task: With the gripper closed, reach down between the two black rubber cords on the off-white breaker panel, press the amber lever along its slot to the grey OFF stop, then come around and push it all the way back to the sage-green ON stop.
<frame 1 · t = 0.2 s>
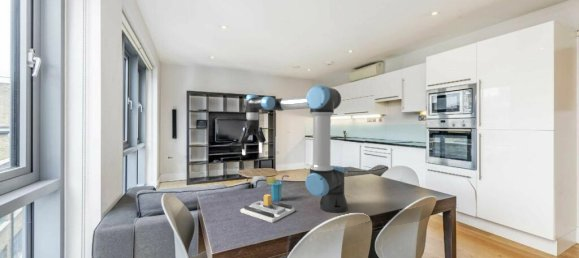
hand: (252, 153, 146), 28 cm above the table, fingers open, 13 cm apart
lever: (267, 201, 123), point 5 cm above the table, slide at 0.0 cm
cup: (278, 200, 142), on the table
panel: (267, 211, 123), on the table
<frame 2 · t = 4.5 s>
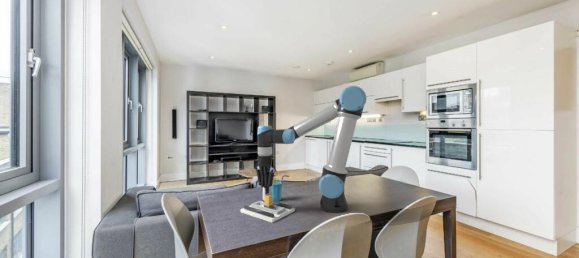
hand: (265, 199, 124), 6 cm above the table, fingers closed
lever: (268, 202, 123), point 5 cm above the table, slide at -0.6 cm, touching gripper
everything else where it was.
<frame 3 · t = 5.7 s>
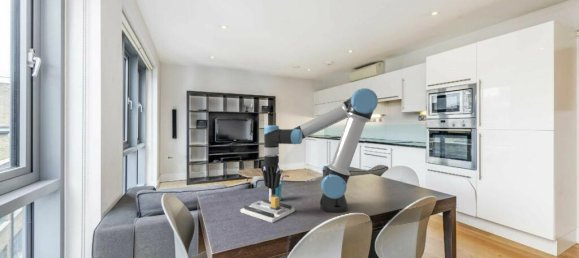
hand: (271, 200, 121), 6 cm above the table, fingers closed
lever: (275, 203, 120), point 5 cm above the table, slide at -5.1 cm, touching gripper
everything else where it was.
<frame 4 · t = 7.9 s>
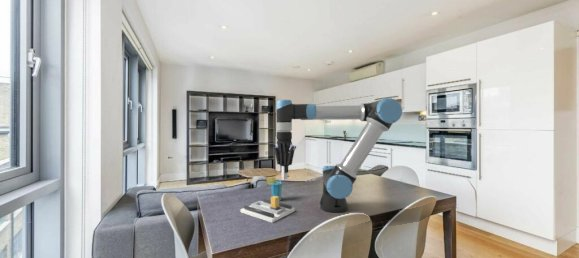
hand: (284, 179, 116), 19 cm above the table, fingers closed
lever: (274, 203, 120), point 5 cm above the table, slide at -5.0 cm
everything else where it was.
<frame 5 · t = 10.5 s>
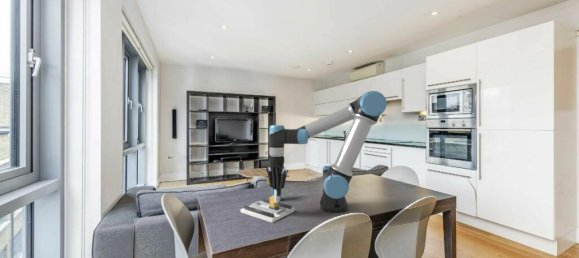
hand: (276, 201, 119), 7 cm above the table, fingers closed
lever: (273, 203, 120), point 5 cm above the table, slide at -4.2 cm, touching gripper
everything else where it was.
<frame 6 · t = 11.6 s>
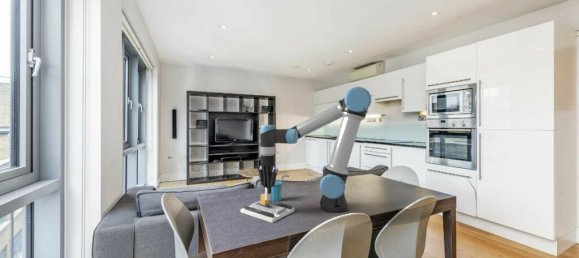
hand: (267, 199, 123), 7 cm above the table, fingers closed
lever: (264, 201, 124), point 5 cm above the table, slide at 2.1 cm, touching gripper
everything else where it was.
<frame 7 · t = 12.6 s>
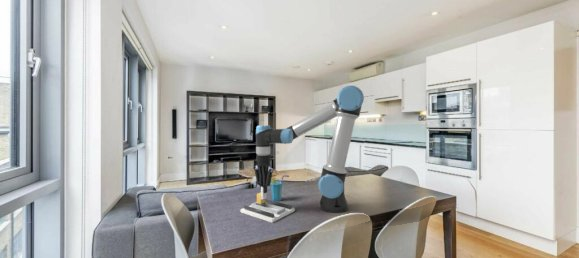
hand: (263, 198, 125), 6 cm above the table, fingers closed
lever: (260, 200, 126), point 5 cm above the table, slide at 5.1 cm, touching gripper
everything else where it was.
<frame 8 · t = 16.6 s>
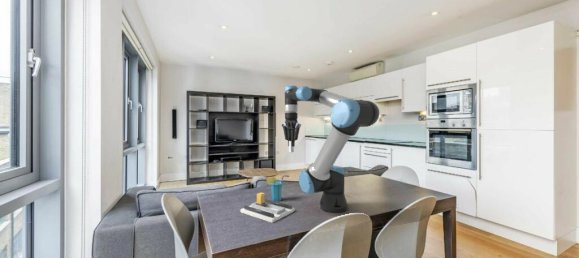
hand: (291, 152, 139), 29 cm above the table, fingers closed
lever: (260, 200, 126), point 5 cm above the table, slide at 5.0 cm
everything else where it was.
at the end: lever slide at 5.0 cm; cup moved 0.2 cm from its start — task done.
